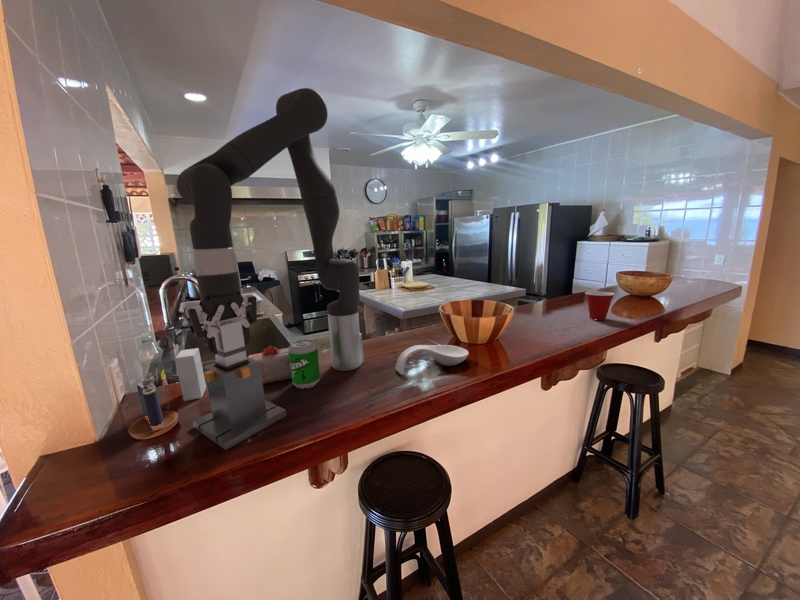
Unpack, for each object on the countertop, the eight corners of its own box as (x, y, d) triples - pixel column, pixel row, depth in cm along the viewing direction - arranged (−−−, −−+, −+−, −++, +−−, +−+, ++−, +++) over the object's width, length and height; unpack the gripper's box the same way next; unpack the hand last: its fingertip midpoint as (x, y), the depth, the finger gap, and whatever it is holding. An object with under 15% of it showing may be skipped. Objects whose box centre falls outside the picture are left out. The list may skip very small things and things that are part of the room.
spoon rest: (454, 352, 109) (454, 332, 107) (476, 364, 98) (476, 342, 97) (390, 366, 99) (389, 345, 97) (407, 382, 89) (407, 358, 87)
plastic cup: (604, 315, 144) (607, 289, 142) (616, 322, 134) (620, 294, 131) (578, 315, 146) (581, 289, 143) (589, 322, 136) (592, 294, 133)
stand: (253, 399, 82) (245, 347, 79) (286, 415, 74) (279, 359, 71) (193, 427, 71) (182, 368, 68) (225, 450, 63) (214, 385, 60)
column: (246, 411, 76) (231, 313, 70) (257, 417, 73) (242, 315, 68) (224, 422, 72) (206, 318, 66) (235, 429, 69) (217, 322, 64)
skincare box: (188, 391, 87) (180, 349, 85) (206, 387, 89) (199, 347, 86) (182, 401, 82) (174, 358, 79) (201, 398, 83) (193, 355, 81)
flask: (143, 417, 75) (133, 375, 73) (158, 412, 77) (149, 371, 75) (152, 433, 69) (142, 388, 67) (168, 427, 71) (159, 383, 69)
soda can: (310, 375, 95) (306, 336, 92) (325, 382, 90) (322, 341, 87) (287, 385, 89) (282, 344, 86) (302, 393, 84) (298, 350, 82)
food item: (248, 390, 87) (243, 356, 85) (248, 378, 94) (244, 346, 92) (300, 379, 92) (296, 347, 90) (297, 369, 99) (293, 339, 97)
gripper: (241, 266, 73) (251, 336, 76) (169, 274, 61) (184, 356, 65) (260, 267, 68) (269, 341, 72) (186, 276, 57) (202, 364, 61)
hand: (229, 348), depth 68 cm, fingers open, 6 cm apart
